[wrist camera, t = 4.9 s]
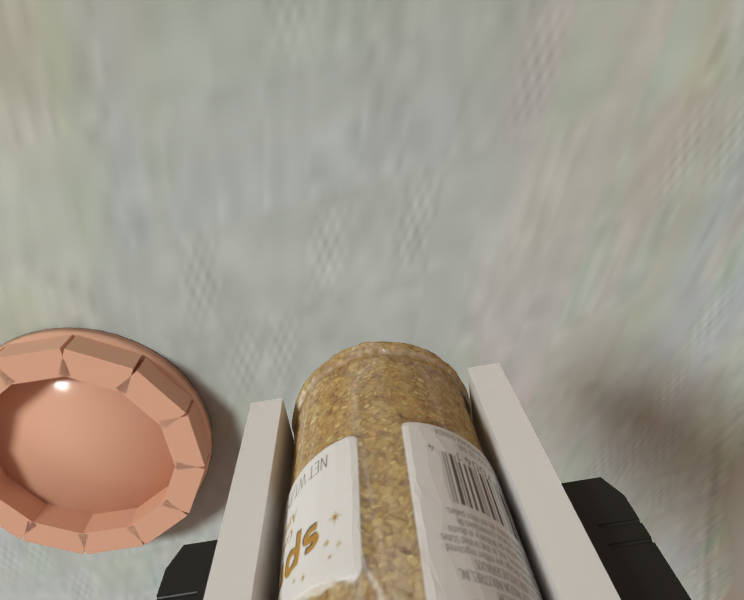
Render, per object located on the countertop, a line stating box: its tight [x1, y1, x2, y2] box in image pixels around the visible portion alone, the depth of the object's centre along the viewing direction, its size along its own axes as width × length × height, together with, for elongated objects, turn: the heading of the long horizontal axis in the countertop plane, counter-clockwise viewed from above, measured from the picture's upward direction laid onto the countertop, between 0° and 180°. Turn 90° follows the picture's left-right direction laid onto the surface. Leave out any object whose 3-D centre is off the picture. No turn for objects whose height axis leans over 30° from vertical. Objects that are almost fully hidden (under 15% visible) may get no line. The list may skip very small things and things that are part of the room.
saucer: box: [0, 328, 213, 554], centre depth 32 cm, size 14×14×2 cm
